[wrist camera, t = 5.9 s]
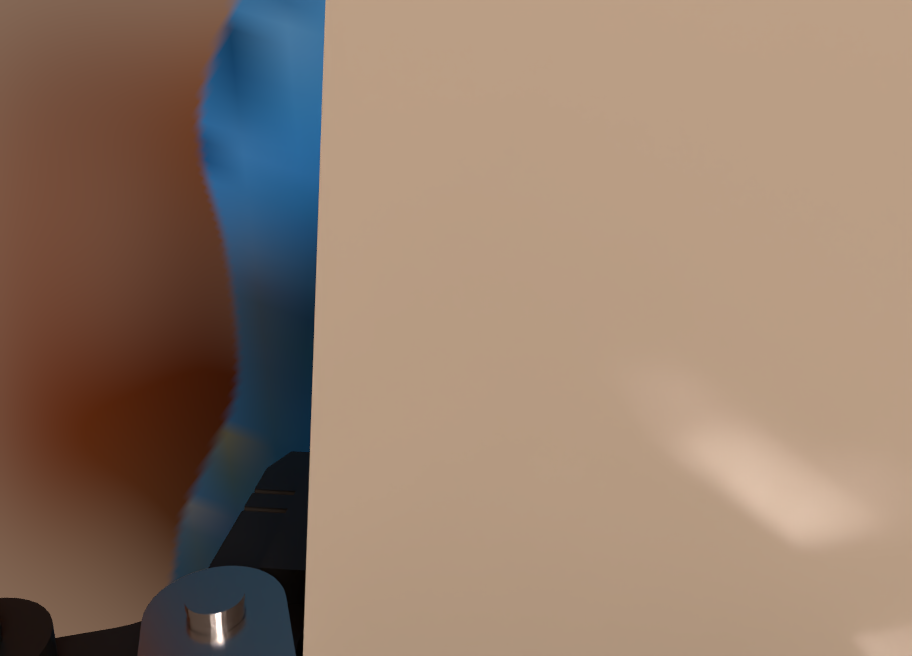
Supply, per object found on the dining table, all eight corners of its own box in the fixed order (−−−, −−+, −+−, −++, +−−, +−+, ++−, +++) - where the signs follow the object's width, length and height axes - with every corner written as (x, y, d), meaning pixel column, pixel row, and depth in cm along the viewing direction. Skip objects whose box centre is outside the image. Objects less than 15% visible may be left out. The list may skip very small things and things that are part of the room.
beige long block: (828, -154, 9) (1443, -609, 3) (603, 863, 14) (681, 1360, 9) (434, -193, 9) (349, -706, 3) (359, 837, 14) (279, 1317, 9)
